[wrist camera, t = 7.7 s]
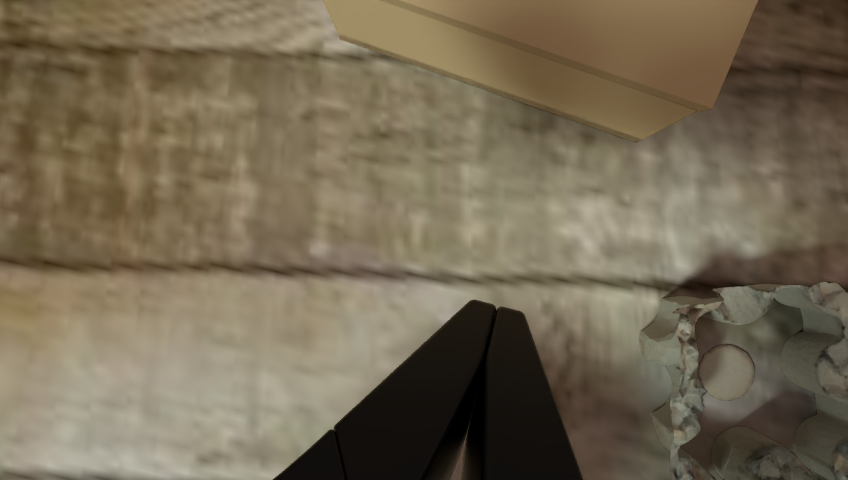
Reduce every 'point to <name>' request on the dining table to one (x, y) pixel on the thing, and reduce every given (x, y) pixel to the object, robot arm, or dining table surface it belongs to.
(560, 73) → the box
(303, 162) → the dining table surface
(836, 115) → the dining table surface
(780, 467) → the egg carton
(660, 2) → the lid
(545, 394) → the robot arm
